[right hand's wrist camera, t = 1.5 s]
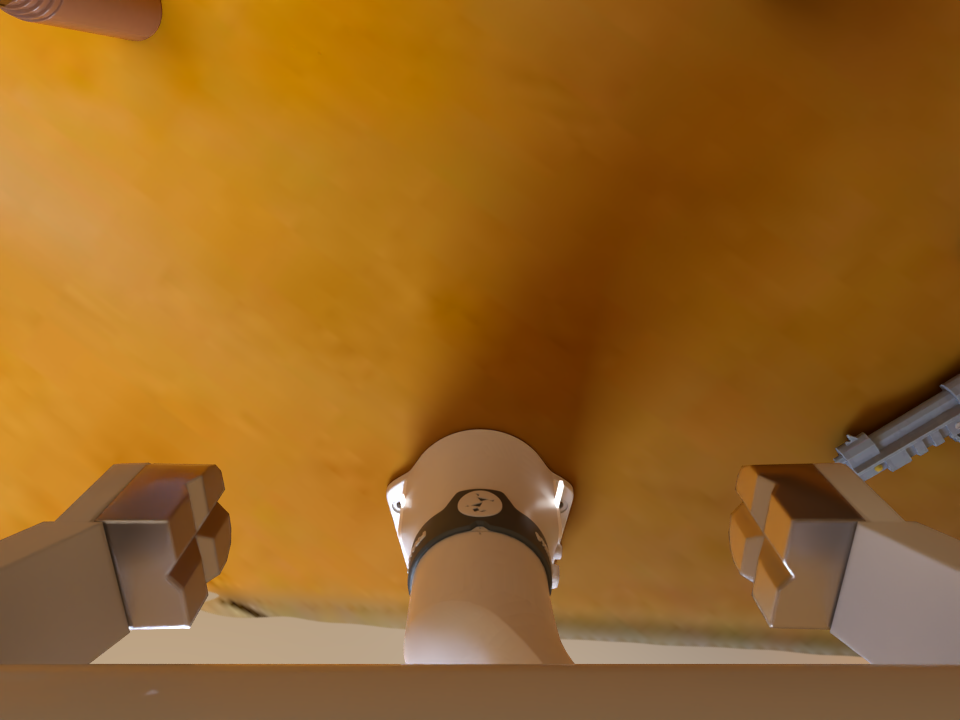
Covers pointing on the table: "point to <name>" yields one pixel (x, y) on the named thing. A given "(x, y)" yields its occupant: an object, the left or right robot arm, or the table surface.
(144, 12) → the bottle
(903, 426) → the toy gun
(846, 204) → the table surface
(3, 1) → the cap
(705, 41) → the table surface
